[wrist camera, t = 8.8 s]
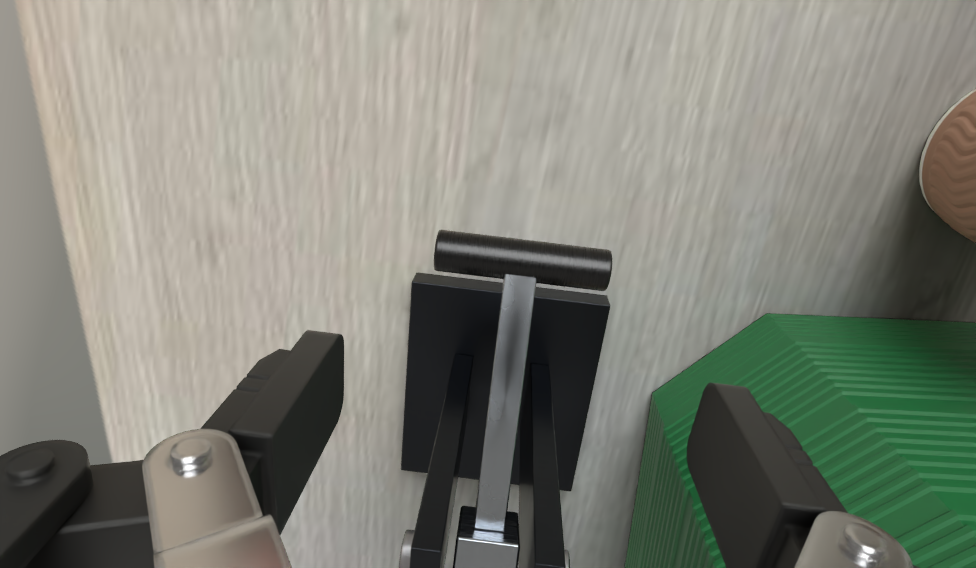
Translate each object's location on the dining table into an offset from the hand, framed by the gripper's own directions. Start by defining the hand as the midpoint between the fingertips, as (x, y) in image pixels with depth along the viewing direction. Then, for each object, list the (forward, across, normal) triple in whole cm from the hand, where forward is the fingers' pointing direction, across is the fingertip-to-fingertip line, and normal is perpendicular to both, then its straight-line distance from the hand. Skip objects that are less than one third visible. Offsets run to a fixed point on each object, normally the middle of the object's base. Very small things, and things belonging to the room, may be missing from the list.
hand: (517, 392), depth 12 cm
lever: (+7, 0, +6) cm, 9 cm away
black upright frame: (+16, 0, +10) cm, 19 cm away
